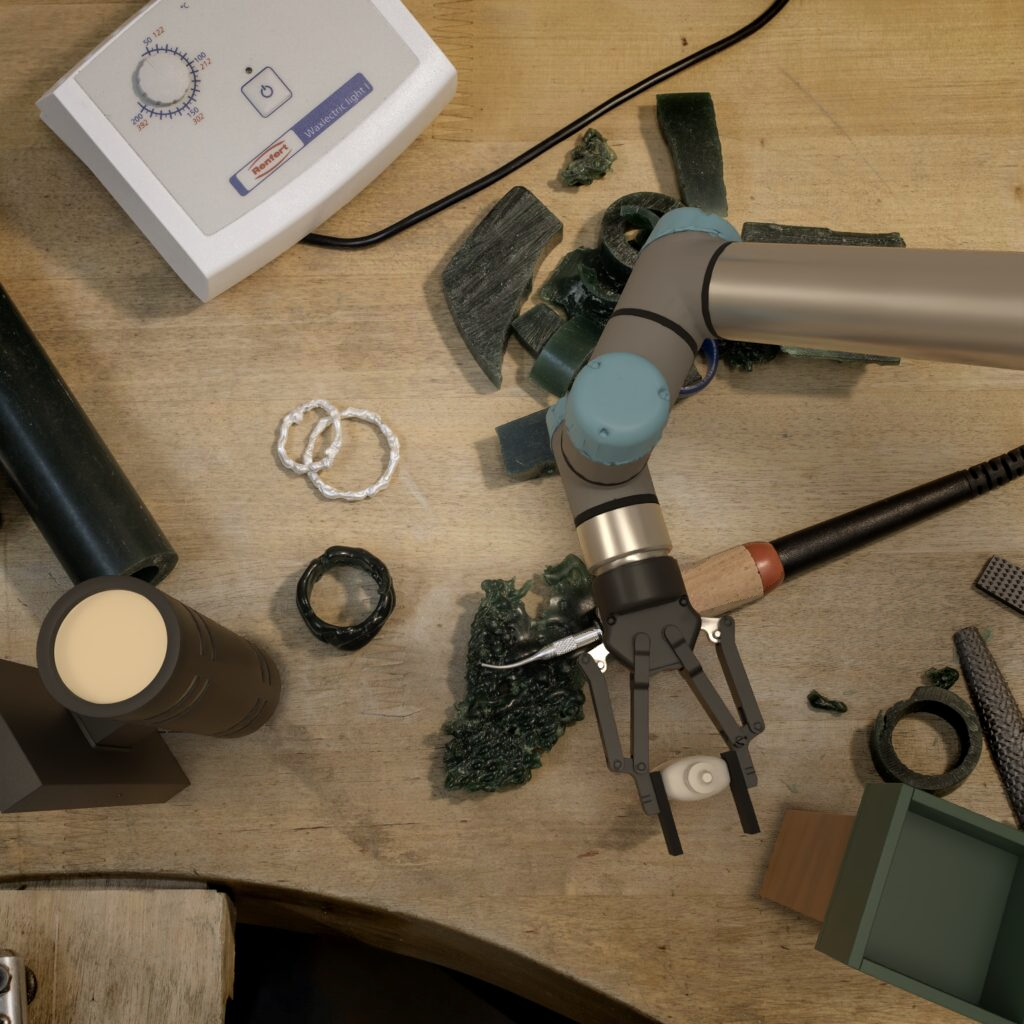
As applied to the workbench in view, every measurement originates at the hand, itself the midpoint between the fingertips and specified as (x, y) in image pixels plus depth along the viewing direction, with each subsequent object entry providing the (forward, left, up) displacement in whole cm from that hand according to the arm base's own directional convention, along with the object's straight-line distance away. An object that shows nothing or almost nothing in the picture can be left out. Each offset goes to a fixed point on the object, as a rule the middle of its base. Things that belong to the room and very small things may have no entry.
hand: (714, 842), depth 83 cm
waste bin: (-12, -2, +12) cm, 17 cm away
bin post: (-12, -2, -13) cm, 17 cm away
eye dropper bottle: (+3, -4, -7) cm, 9 cm away
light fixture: (+45, +6, -13) cm, 48 cm away
